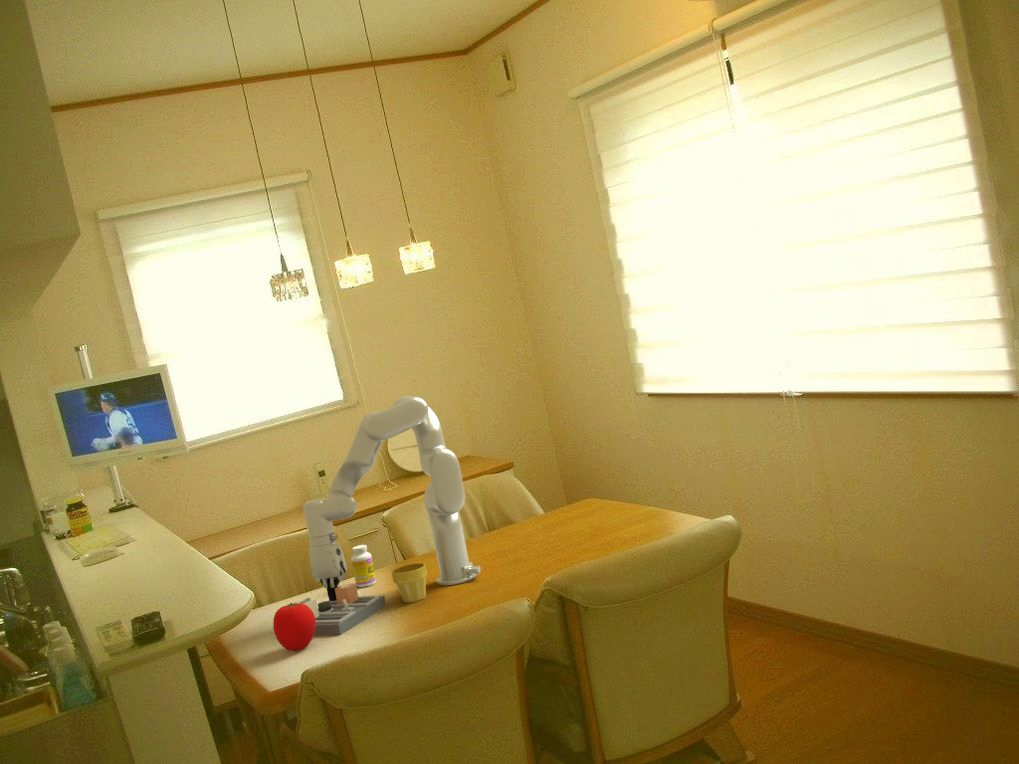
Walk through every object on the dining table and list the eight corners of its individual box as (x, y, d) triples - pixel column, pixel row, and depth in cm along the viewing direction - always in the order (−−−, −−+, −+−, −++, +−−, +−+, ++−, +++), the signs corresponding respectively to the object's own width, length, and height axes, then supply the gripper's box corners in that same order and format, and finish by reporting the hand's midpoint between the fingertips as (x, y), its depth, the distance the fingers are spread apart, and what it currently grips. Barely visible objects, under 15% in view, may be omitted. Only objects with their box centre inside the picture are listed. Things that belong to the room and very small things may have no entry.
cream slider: (319, 616, 293) (315, 597, 292) (310, 621, 289) (306, 602, 288) (306, 616, 295) (303, 597, 294) (297, 622, 291) (293, 603, 290)
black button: (333, 607, 298) (332, 600, 298) (326, 611, 295) (325, 604, 295) (323, 607, 300) (322, 601, 300) (316, 611, 297) (315, 605, 297)
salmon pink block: (358, 599, 303) (355, 581, 303) (350, 604, 299) (346, 586, 299) (346, 600, 305) (342, 581, 305) (337, 605, 301) (334, 586, 301)
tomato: (269, 657, 272) (260, 611, 272) (292, 642, 283) (283, 598, 282) (305, 655, 268) (296, 608, 267) (326, 640, 278) (317, 595, 278)
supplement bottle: (372, 586, 329) (365, 548, 328) (353, 589, 331) (346, 550, 330) (379, 580, 336) (372, 542, 335) (360, 583, 337) (353, 545, 336)
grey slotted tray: (386, 605, 303) (382, 584, 303) (340, 634, 281) (336, 611, 281) (336, 608, 311) (332, 587, 310) (288, 636, 289) (284, 614, 289)
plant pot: (391, 602, 306) (385, 571, 305) (419, 592, 312) (413, 561, 311) (409, 606, 297) (402, 574, 297) (438, 595, 303) (432, 564, 303)
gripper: (350, 535, 303) (362, 594, 305) (310, 538, 310) (321, 596, 311) (335, 542, 297) (347, 602, 298) (295, 545, 303) (307, 604, 304)
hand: (334, 599), depth 304 cm, fingers closed
